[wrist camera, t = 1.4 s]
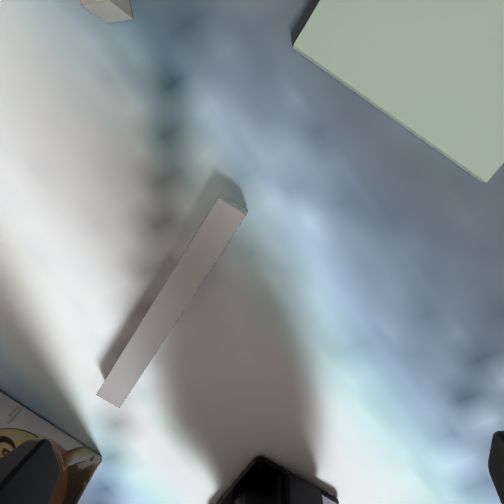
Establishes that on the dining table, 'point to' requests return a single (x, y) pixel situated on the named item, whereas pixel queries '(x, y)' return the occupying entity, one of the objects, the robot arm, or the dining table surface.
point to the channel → (109, 9)
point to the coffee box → (66, 448)
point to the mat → (421, 68)
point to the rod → (173, 298)
